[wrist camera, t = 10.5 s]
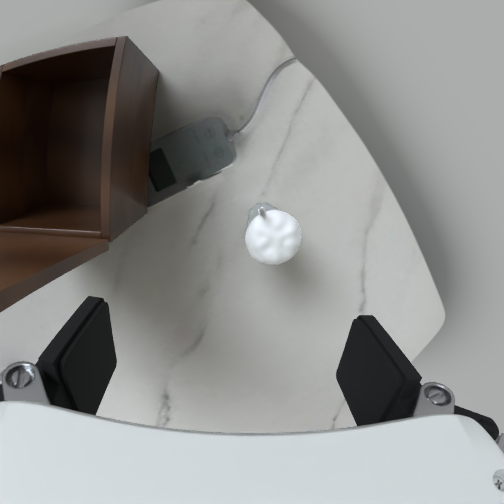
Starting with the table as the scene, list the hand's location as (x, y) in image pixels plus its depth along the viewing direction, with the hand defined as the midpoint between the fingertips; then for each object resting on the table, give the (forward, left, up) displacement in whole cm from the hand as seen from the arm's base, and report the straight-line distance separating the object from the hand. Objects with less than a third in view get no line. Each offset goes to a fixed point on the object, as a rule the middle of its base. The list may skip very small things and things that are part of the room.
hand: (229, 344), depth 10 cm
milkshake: (-1, +3, -22) cm, 22 cm away
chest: (-8, -16, -22) cm, 28 cm away
